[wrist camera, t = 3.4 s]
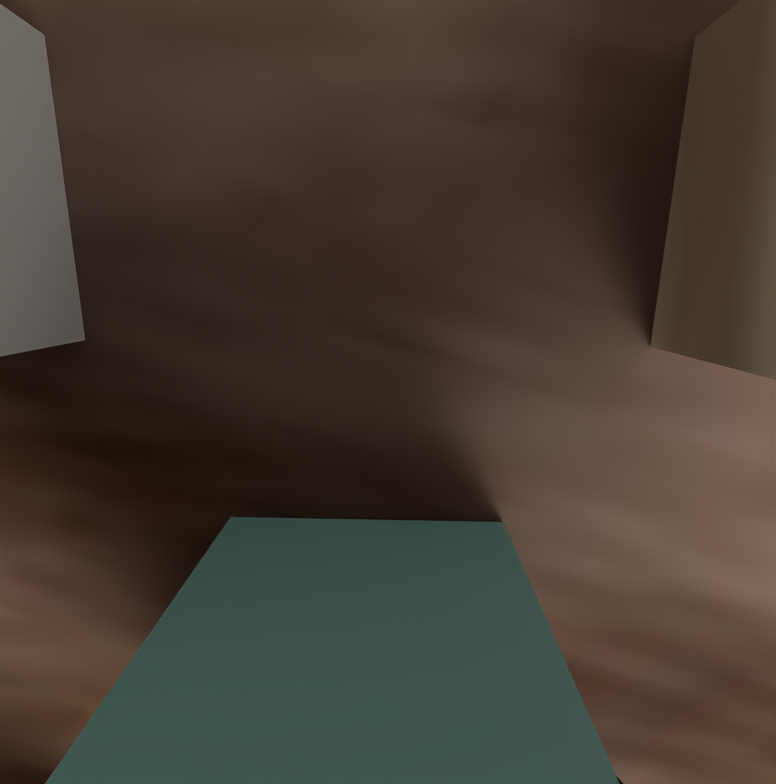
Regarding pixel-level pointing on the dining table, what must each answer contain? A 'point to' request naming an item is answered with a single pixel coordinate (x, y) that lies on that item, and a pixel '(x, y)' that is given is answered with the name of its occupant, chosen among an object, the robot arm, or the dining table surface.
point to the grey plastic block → (32, 202)
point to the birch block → (725, 201)
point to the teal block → (346, 667)
